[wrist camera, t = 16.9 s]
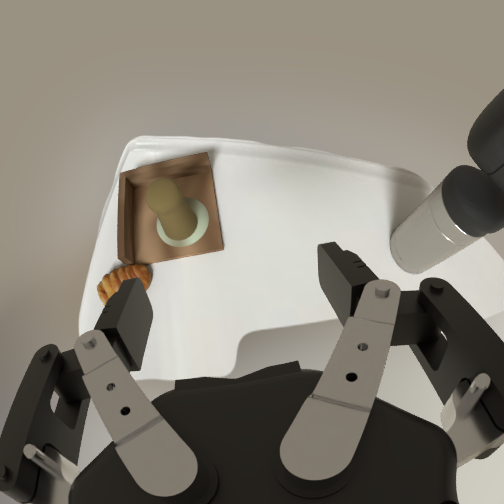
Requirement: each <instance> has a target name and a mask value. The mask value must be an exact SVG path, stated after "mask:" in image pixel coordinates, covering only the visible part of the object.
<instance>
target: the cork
mask: <svg viewBox="0 0 504 504" xmlns="http://www.w3.org/2000/svg"><path fill="white" fill-rule="evenodd" d="M145 200H146V204H147V206H148V207H149V209H150V210H151V211H152V212H154V213H156V214H157V216H158V218H159V221H160V223H161V226H162V228H163V230H164V233H165V235H166V236H167V237H168V238H170V239H172V240H177V241H180V240H185V239H187V238H188V237H190V236H191V235H192V234H193V233H194V232H195V230H196V228H197V224H198V220H197V216H196V214H195V213H194V211H193V210H192V209H191V208H190V206H189V205H188V204H187V203H186V202H185V200H184V199H183V198H182V190H181V188H180V186H179V184H178V183H177V182H176V181H174V180H173V179H170V178H160V179H157V180H155V181H153V182H152V183H151V184H150V185H149V187H148V188H147V191H146V194H145Z"/></svg>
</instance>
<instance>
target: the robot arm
mask: <svg viewBox="0 0 504 504" xmlns="http://www.w3.org/2000/svg"><path fill="white" fill-rule="evenodd" d="M467 146H468V151H469V154H470V156H471V157H472V159H473V160H474V162H475V163H476V164H477V165H478V167H479V168H480V169H481V170H482V171H481V170H479V169H477V168H475V167H472V166H468V165H461V166H458V167H456V168H454V169H453V170H452V171H451V172H450V173H449V174H448V175H447V176H446V177H445V179H444V180H443V181H442V182H441V183H440V184H439V185H438V186H437V187H436V188H435V190H434V191H433V192H432V193H431V194H430V195H429V196H428V197H427V198H426V199H425V200H424V201H423V202H422V203H421V204H420V205H419V206H418V207H417V208H416V209H415V211H414V212H413V213H412V214H411V215H410V216H409V217H408V218H407V219H406V220H405V221H403V222H402V223H401V224H400V225H399V226H398V227H397V228H396V229H395V231H394V232H393V234H392V236H391V240H390V249H391V253H392V256H393V258H394V260H395V262H396V263H397V264H398V265H399V267H400V268H402V269H403V270H404V271H406V272H408V273H412V274H419V273H422V272H424V271H426V270H428V269H430V268H431V267H433V266H435V265H437V264H439V263H440V262H442V261H444V260H446V259H447V258H449V257H451V256H452V255H454V254H456V253H457V252H459V251H461V250H462V249H464V248H466V247H467V246H469V245H470V244H472V243H473V242H475V241H477V240H478V239H480V238H481V237H483V236H484V235H486V234H488V233H494V232H497V231H499V230H500V229H502V228H504V89H503V90H502V91H501V92H500V93H499V94H498V95H497V96H496V97H495V98H494V99H493V101H492V102H490V104H489V105H488V106H487V107H486V108H485V109H484V110H483V111H482V113H481V114H480V115H479V117H478V118H477V119H476V121H475V123H474V124H473V126H472V128H471V130H470V133H469V136H468V141H467ZM317 250H318V275H319V282H320V285H321V288H322V290H323V292H324V293H325V295H326V297H327V299H328V300H329V302H330V304H331V306H332V307H333V309H334V311H335V313H336V314H337V316H338V318H339V320H340V322H341V323H342V325H343V327H344V329H343V331H342V334H341V336H340V338H339V340H338V342H337V345H336V347H335V349H334V351H333V353H332V356H331V358H330V360H329V362H328V364H327V366H326V368H325V370H324V372H323V371H318V370H311V369H301V368H300V365H299V362H298V361H294V362H289V363H285V364H280V365H275V366H270V367H266V368H264V369H261V370H259V371H256V372H253V373H251V374H248V375H246V376H243V377H240V378H237V379H227V378H211V377H200V378H192V379H182V380H175V389H174V390H171V391H168V392H166V393H164V394H162V395H160V396H159V397H157V398H155V399H154V400H153V401H152V402H150V401H149V399H148V398H147V397H146V396H145V394H144V393H143V391H142V390H141V389H140V387H139V386H138V385H137V383H136V382H135V380H134V379H133V378H132V376H131V375H130V371H140V370H141V365H142V361H143V356H144V352H145V348H146V344H147V339H148V335H149V331H150V327H151V324H152V320H153V310H152V306H151V303H150V301H149V298H148V296H147V293H146V291H145V288H144V285H143V283H142V281H141V279H140V278H139V277H137V278H132V279H126V280H123V282H122V284H121V286H120V288H119V290H118V292H115V293H114V294H113V295H112V296H111V297H110V298H109V299H108V301H107V303H106V305H105V308H104V309H103V311H102V313H101V315H100V317H99V319H98V321H97V323H96V325H95V328H94V330H91V331H88V332H86V333H84V334H82V335H81V336H80V337H79V338H78V339H77V341H76V342H75V345H74V349H72V350H69V351H65V352H62V353H61V352H60V351H59V349H58V347H57V346H56V345H54V344H49V345H46V346H44V347H42V348H41V349H39V350H38V351H37V352H36V353H35V355H34V357H33V359H32V361H31V363H30V365H29V367H28V369H27V371H26V373H25V376H24V378H23V380H22V382H21V385H20V387H19V389H18V392H17V394H16V397H15V399H14V401H13V404H12V406H11V409H10V412H9V415H8V417H7V420H6V422H5V425H4V428H3V431H2V434H1V438H0V491H2V492H3V493H4V494H6V495H8V496H10V497H11V498H13V499H14V500H15V501H16V502H18V503H19V504H459V502H458V498H457V492H456V470H457V468H458V467H460V466H462V465H464V464H465V463H467V462H469V461H470V460H472V459H474V458H475V459H484V458H487V457H489V456H490V455H491V454H492V453H493V452H494V451H495V450H497V449H498V448H499V447H500V446H501V445H502V444H503V443H504V342H503V341H502V340H501V339H500V337H499V336H498V335H497V334H496V333H495V332H494V330H493V329H492V328H491V327H490V326H489V325H488V324H487V323H486V321H485V320H484V319H483V318H482V317H481V316H480V315H479V314H478V313H477V311H476V310H475V309H474V308H473V307H472V306H471V305H470V304H469V303H468V302H467V301H466V300H465V299H464V298H463V297H462V296H461V295H460V294H459V293H458V292H457V291H456V289H455V288H454V287H453V286H452V285H451V284H449V283H448V282H447V281H445V280H443V279H440V278H426V279H424V280H423V281H422V282H421V283H420V287H419V290H416V291H401V290H400V288H399V286H398V285H397V284H395V283H394V282H391V281H388V280H380V279H379V278H378V277H377V276H376V275H375V274H374V273H373V272H372V271H371V270H370V268H369V267H368V266H366V264H365V263H364V262H363V261H362V260H361V259H360V258H359V257H358V255H357V254H355V253H353V252H351V251H348V250H345V251H343V250H342V249H341V248H340V247H339V246H338V245H337V243H336V242H330V243H324V244H319V245H318V249H317ZM441 331H442V332H443V333H444V334H445V336H446V338H447V340H446V339H445V337H444V336H443V335H442V333H441ZM397 345H409V346H410V348H411V349H412V351H413V353H414V354H415V356H416V357H417V359H418V361H419V362H420V364H421V366H422V367H423V369H424V371H425V373H426V374H427V376H428V378H429V379H430V381H431V383H432V385H433V387H434V388H435V390H436V392H437V394H438V396H439V397H440V399H441V401H442V403H443V405H444V407H443V409H442V412H441V422H442V425H443V429H442V428H440V427H439V426H437V425H435V424H433V423H431V422H429V421H426V420H424V419H422V418H420V417H417V416H415V415H413V414H411V413H409V412H407V411H404V410H402V409H400V408H398V407H396V406H394V405H392V404H390V403H388V402H385V401H383V400H381V399H379V398H377V397H376V395H377V392H378V388H379V385H380V382H381V378H382V375H383V371H384V368H385V364H386V360H387V356H388V352H389V348H390V346H397ZM53 391H55V392H56V393H57V394H58V396H59V400H58V404H57V407H56V410H55V413H53V411H52V409H51V406H50V400H51V397H52V394H53ZM90 398H92V401H93V403H94V405H95V407H96V409H97V411H98V413H99V415H100V417H101V419H102V421H103V423H104V424H105V426H106V428H107V430H108V432H109V434H110V435H111V437H112V439H113V441H112V442H111V443H110V444H109V445H108V446H107V447H106V448H105V449H104V450H103V451H102V452H101V453H100V454H99V455H98V456H97V457H96V458H95V459H94V460H93V461H92V462H91V463H90V464H89V465H88V466H87V467H86V468H85V469H84V470H83V471H82V472H81V473H80V472H79V469H78V468H77V463H78V457H79V451H80V446H81V440H82V434H83V430H84V425H85V420H86V416H87V411H88V407H89V402H90Z"/></svg>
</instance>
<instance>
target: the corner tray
mask: <svg viewBox="0 0 504 504" xmlns="http://www.w3.org/2000/svg"><path fill="white" fill-rule="evenodd" d="M160 178H170V179H173V180H174V181H176V182H177V183H178V184H179V186H180V188H181V190H182V198H183V199H184V200H185V202H186V203H187V204H188V205H189V206H190V208H191V209H192V210H193V211H194V213H195V214H196V216H197V220H198V224H197V228H196V230H195V232H194V233H193V234H192V235H191V236H190V237H188V238H187V239H185V240H180V241H177V240H172V239H170V238H168V237H167V236H166V235H165V233H164V230H163V228H162V226H161V223H160V221H159V218H158V216H157V214H156V213H154V212H152V211H151V210H150V209H149V207H148V206H147V204H146V200H145V194H146V191H147V188H148V187H149V185H150V184H151V183H152V182H153V181H155V180H157V179H160ZM117 248H118V259H119V260H121V261H122V262H123V263H125V264H126V265H135V264H141V265H146V264H152V263H157V262H162V261H168V260H173V259H178V258H183V257H189V256H194V255H199V254H205V253H210V252H216V251H221V250H223V244H222V238H221V231H220V225H219V218H218V212H217V205H216V198H215V192H214V185H213V178H212V171H211V166H210V162H209V158H208V154H207V152H205V153H200V154H195V155H190V156H185V157H181V158H176V159H172V160H168V161H164V162H159V163H155V164H151V165H147V166H144V167H140V168H136V169H132V170H129V171H125V172H122V173H120V177H119V193H118V224H117Z"/></svg>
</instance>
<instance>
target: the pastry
mask: <svg viewBox="0 0 504 504" xmlns="http://www.w3.org/2000/svg"><path fill="white" fill-rule="evenodd" d="M137 277H139V278H140V279H141V281H142V283H143V285H144V288H145V291H146V290H147V289H148V287H149V285H150V283H151V279H152V277H151V274H150V272H149V270H148V269H147V268H146V266H144V265H141V264H135V265H128V266H126V267H121V268H119V269H115V270H114V271H112V272H111V274H106V275H105V276H104V277H103V279H102V281H101V282H100V283H99V284H98V286H97V291H98V294H99V297H100V299H101V301H102V302H103V304H104V306H105V305H106V303H107V301H108V299H109V298H110V297H111V296H112V295H113V294H114V293H115V292H118V290H119V288H120V286H121V284H122V282H123V280H126V279H132V278H137Z"/></svg>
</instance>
